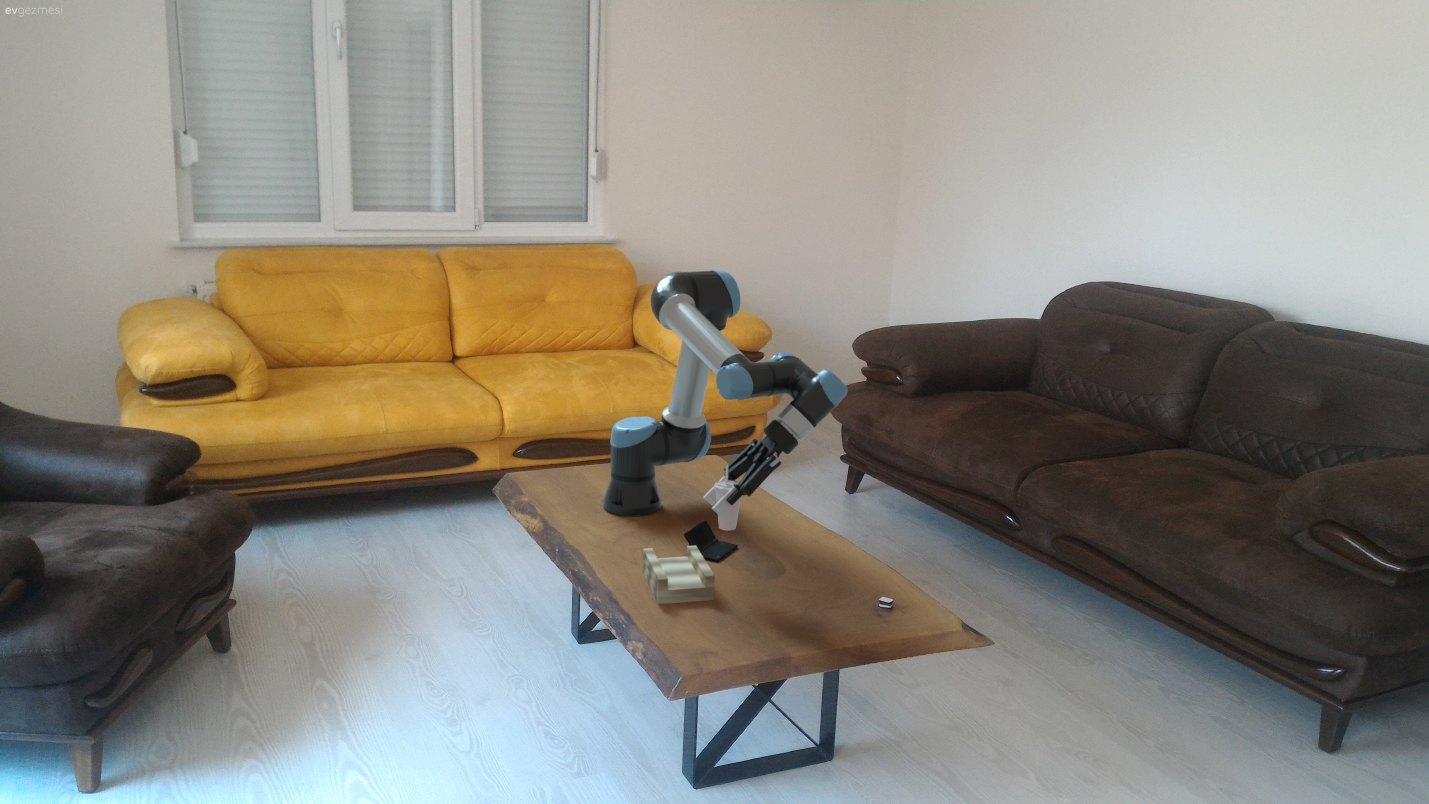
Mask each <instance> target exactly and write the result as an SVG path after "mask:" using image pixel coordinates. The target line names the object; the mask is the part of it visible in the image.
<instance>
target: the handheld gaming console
mask: <svg viewBox="0 0 1429 804" xmlns="http://www.w3.org/2000/svg"><path fill="white" fill-rule="evenodd" d="M683 536H684V539H685V540H686V542H687V543H688V546H697V548H698V550H699V551H700V553H701V554H702V556H703V558H704V559H705V561H709V562H712V563H719V562H721V561H722V560H723V559H724V558H726V557H727V556H728V555H730V554H731V553H733V552H734V551H735V550H736V549H738V544H736V543H731V542H727V541H723V540H719V538H717V536H716V535H715V533H714V531H713V529H712V528H711V526H710V524H709V523H708V521H707V520H706V519H704V520H703V521H701V522H700V523H698V524H696V525H695V526H694V527H692V528H690V529H689V530H687V531H686V532H685V533H684V534H683Z"/></svg>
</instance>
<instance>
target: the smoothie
mask: <svg viewBox="0 0 1429 804" xmlns="http://www.w3.org/2000/svg"><path fill="white" fill-rule="evenodd" d="M728 466H729V465H728V464H726V465H725V467H726V477H725V480H724V481H719V480H718V481H719V482H718V481H716V482H715V483H714V485H713V486H714V490H715V491H716V501H717V502H718V501H719V500H720V499H721V498H722V497H723V496H724V495H725V494H726V493H727V492H728V491H729V490H730V489H731V488H732V487H733V485H734V484H737V485H738V483H739V482H740V481H737V480H735V481H732V480H728ZM741 500H742V497H741V498H740V499H739V500H738V501H737V502H736V503H735V504H734V505H733V506H732V507H731V508H730V509H729V510H728V511H727V512H726V513H725V514H724V515H723V516H722V517H720V516H719V515H718V514H717V520H718V521H717V522H718V529H720V530H723V531H734V530H736V528H737V524H738V517H739V511H740V505H741V502H742V501H741ZM717 502H716V503H717Z"/></svg>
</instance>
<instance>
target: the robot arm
mask: <svg viewBox="0 0 1429 804" xmlns="http://www.w3.org/2000/svg"><path fill="white" fill-rule="evenodd" d="M650 308H651V311H652V313H653V316H654V318H655V319H656V321H658V323H659V324H660V325H661V326H662V327H663V328H664V329H666V330H670V331H673V332H674V333H675V334H676V335H677V336H678V337H679V338H680V339H681V344H680V350H679V355H678V358H677V365H676V371H675V376H674V381H673V387H672V389H671V390H672V391H671V396H670V402H669V405H668V406H666V407H665V408H664V409H663V410H662V411H661V412H662V413H661V419H660V420H659V421H656V419H655V418H653V417H650V416H644V415H643V416H630V417H626V418H623V419H621V420H619V421H617V422H616V423H615V424H614V425H613V426H612V428H611V432H610V433H611V435H610V441H609V444H610V479H609V482H608V485H607V486H606V487H607V488H606V491H605V493H604V496H603V509H605V511H607V512H608V513H611V514H614V515H618V516H625V517H639V516H647V515H651V514H655V513H657V512H659V511H660V510H661V508H662V498H661V493H660V491H659V490H660V489H659V488H658V485H657V481H656V467H660V466H666V465H667V466H668V465H672V464H678V463H690V462H693V461H697V460H700V459H702V458H703V457H704V456H705V455H706V454H707V452H708V451H709V448H710V445H711V441H712V435H711V434H710V433H711V428H710V425H709V423H708V421H707V420H706V416H705V415H704V413H702V412H703V406H704V401H705V397H706V392H707V387H708V383H709V379H710V378H709V377H710V373H711V372H713V374H715V375H716V378H715V384H716V389H718V394H719V395H720V397H722V398H723V399H725V400H728V401H733V400H734V401H735V400H737V401H743V400H750V399H757V398H762V397H763V398H765V397H773V396H781V395H788V396H789V397H791V399H792V400H791V401H790V402H789V403H788V404H787V405H786V406H785V407H784V408H783V409H782V410H781V411H780V412H779V413H778V414H777V415H776V418H777V419H772V420H771V422H769V424H768V425H767V426H765V428H764V429H763V433H764V435H766V436H765V437H764V438H762V439H760V441H759V440H758V439H757V438H755V437H754V438H753V439H752V440H751V441H750V442H749V444H747V446H746V447H745V448H744V449H743V450H742V451H741V452H739V453H738V454H737V456H736V457H734V458H733V459H732V460H731V461H730V462H729V463H728V464H727V465H729V466H728V480H732V481H737V479H739V478H740V477H741V476H742V475H743V477H742V478H741V479H740V481H738V482H739V483H738V485H737V484H734V485H733V487H732V488H731V489H730V490H729V491H728V492H727V493H726V494H725V495H724V496H723V497H722V498H721V499H720V500H719V501H718V502H717V501H716V491H715V490H714V485H713V486H712V487H711V488H710V489H709V490H708V491H707V492H706V494H704V495H703V497H702V498H703V499H704V500H705V501H706V502H708V503H709V504H710V505H711V506H712V507H711V510H713V511H714V512H715V513H716V514H717V516H718V515H719V516H720V517H722V516H723V515H724V514H725V513H726V512H727V511H728V510H729V509H730V508H731V507H732V506H733V505H734V504H735V503H736V502H737V501H738V500H739V499H740V498H741V499H742V497H745V496H747V497H751V496H752V495H753V493H754V492H756V490H757V489H758V488H759V487H760V486H761V485H762V484H763V483H764V481H765V480H766V479H767V478H768V477H769V476H770V475H771V474H772V473H773V472H774V471H775V470H776V469H777V468H779V467H780V466H781V465H782V462H781V461H780V460H779V457H780V455H781V454H782V452H783V453H784V454H786V455H789V454H791V453H792V452H793V451H794V450H795V449H796V447H798V445H799V441H804V439H805V438H806V437H807V436H809V435H811V434H812V431H813V430H814V429H815V428H816V427H817V426H818V425H819V424H820V423H821V422H822V421H823V419H825V418H826V417H827V416H828V415H829V414H830V413H831V412H832V411H834V410H835V409H836V407H837V408H838V405H839V404H840V403H841V401H843V399H844V398H845V397H846V396H847V394H848V387H847V385H846V384H845V383H844V382H843V381H842V379H840V378H839V377H838V376H837V375H836V374H835V373H834V372H833V371H831V370H830V369H828V368H824V369H822V370H821V371H820V372H818V373H817V372H816V371H814V370H813V369H812V368H811V367H810V366H809V365H807V364H806V363H805V361H803V360H802V359H801V358H799V357H797V356H796V355H794V354H792V353H790V352H788V351H782V352H778V354H776V355H773V356H772V357H771V358H770V359H769V361H761V362H752V361H751V360H750V358H748V357H747V356H746V355H744V353H743V352H742V351H740V349H739V348H737V346H736V345H735V344H733V342H732V341H730V339H729V338H728V337H726V335H724V333H722V332H723V331H724V330H726V326H727V322H728V318H730V319H731V318H733V317H735V316H736V315H737V314H738V313H739V311H740V308H741V293H740V288H739V286H738V283H737V281H736V280H735V277H733V276H732V275H731V274H730V273H729V272H727V271H723V270H714V269H710V270H705V271H704V270H703V271H700V270H699V271H675V272H671V273H668V274H666V275H664V276H662V277H661V278H660V279H659V280H658V281H657V282H656V284H655V285H654V286H653V288H652V291H651V295H650ZM723 471H724V474H723V476H722V477H721V478H720V479H719V480H718V481H717V482H719V481H724V480H725V477H726V466H725V467H724V468H723Z"/></svg>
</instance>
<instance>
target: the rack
mask: <svg viewBox="0 0 1429 804" xmlns="http://www.w3.org/2000/svg"><path fill="white" fill-rule="evenodd" d="M642 550H643V551H642V552H643V553H642V573H643V575H644V577H645V579H646V582H647V584H648V586H649V589H650V590H651V592H652V595H653V596H654V600H655V601H656V604H657V605H663V604H678V603H688V602H689V603H691V602H704V601H706V602H707V601H714V600H715V576H716V575H715V573H714V572H713V571H712V569H711V567H710V565H709V564H708V562H707V560H705V559H704V558H703V556H702V554H701V553H700V551H699V550H698V548H697V546H690V545H687V547H686V556H674V557H660V558H658V556H657V555H656V553H655V550H654V549H653V547H647V548H646V547H645V548H643V549H642Z"/></svg>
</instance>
